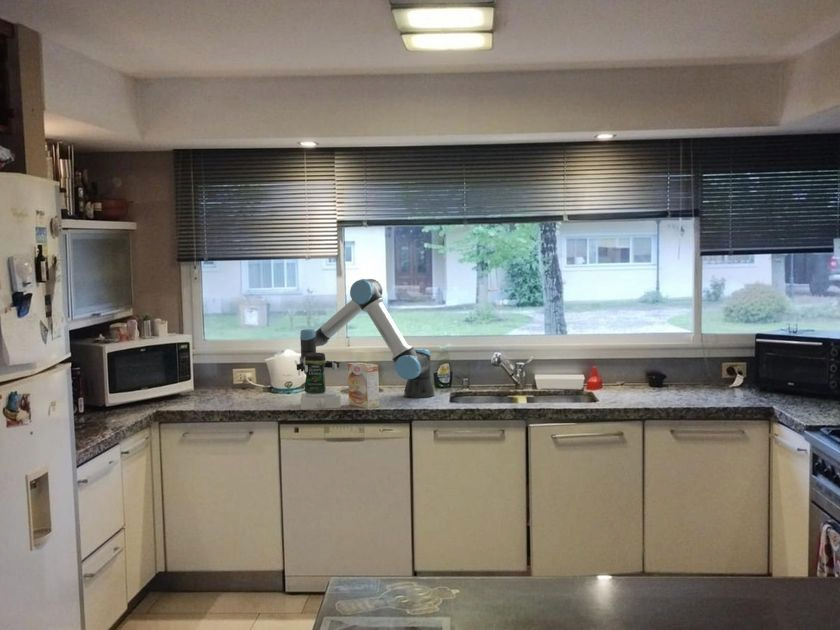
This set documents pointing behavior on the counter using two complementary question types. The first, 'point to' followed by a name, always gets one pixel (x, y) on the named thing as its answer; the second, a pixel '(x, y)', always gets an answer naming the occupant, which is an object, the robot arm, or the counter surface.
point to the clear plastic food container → (321, 400)
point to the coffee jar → (315, 373)
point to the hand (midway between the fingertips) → (321, 367)
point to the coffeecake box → (363, 385)
